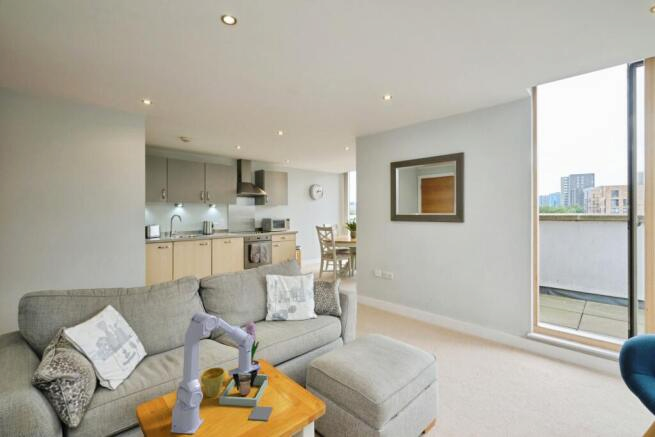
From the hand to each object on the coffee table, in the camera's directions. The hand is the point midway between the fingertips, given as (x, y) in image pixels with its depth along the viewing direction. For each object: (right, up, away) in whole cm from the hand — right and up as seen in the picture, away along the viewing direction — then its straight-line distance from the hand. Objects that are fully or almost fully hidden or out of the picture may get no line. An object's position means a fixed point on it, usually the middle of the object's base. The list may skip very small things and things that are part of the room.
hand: (244, 387), depth 139 cm
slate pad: (+11, -3, -14) cm, 18 cm away
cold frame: (0, -3, 0) cm, 3 cm away
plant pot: (-15, -3, 0) cm, 15 cm away
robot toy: (-25, -4, -9) cm, 27 cm away
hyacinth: (-1, -3, +15) cm, 16 cm away
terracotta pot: (0, -2, 0) cm, 2 cm away
